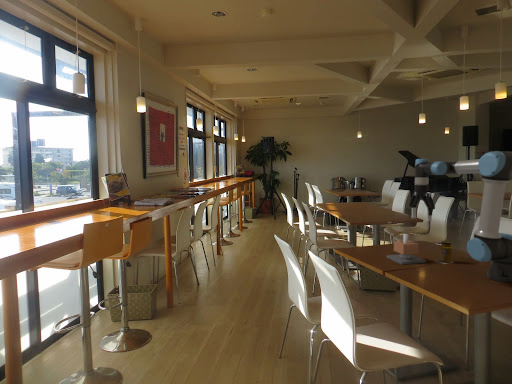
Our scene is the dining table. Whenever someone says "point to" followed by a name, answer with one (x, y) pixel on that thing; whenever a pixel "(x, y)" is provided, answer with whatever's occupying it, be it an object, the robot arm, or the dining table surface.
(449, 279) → the dining table surface
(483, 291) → the dining table surface
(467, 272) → the dining table surface
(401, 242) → the collar
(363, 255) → the dining table surface
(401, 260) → the post stand
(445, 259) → the condiment
